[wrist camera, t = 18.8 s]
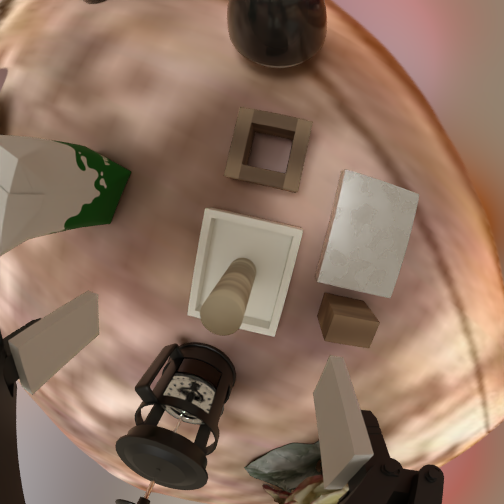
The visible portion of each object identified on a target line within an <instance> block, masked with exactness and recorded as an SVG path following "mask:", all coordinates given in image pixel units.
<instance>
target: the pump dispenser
mask: <svg viewBox="0 0 504 504" xmlns="http://www.w3.org/2000/svg"><path fill="white" fill-rule="evenodd" d="M227 23H228V32H229V36H230V39H231V42H232V44H233V45H234V47H235V48H236V49H237V51H238V52H239V53H241V54H242V55H243V56H245V57H246V58H248V59H250V60H252V61H253V62H255V63H257V64H260V65H263V66H266V67H272V68H286V67H292V66H295V65H298V64H300V63H302V62H304V61H306V60H308V59H310V58H311V57H313V56H314V55H315V54H317V53H318V51H319V50H320V49H321V48H322V46H323V44H324V41H325V37H326V32H327V14H326V7H325V3H324V0H228V8H227Z"/></svg>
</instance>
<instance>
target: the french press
mask: <svg viewBox="0 0 504 504" xmlns="http://www.w3.org/2000/svg"><path fill="white" fill-rule="evenodd" d="M169 356H170V357H169ZM168 358H169V360H168V363H167V364H166V366H165V367H164V370H163V372H162V377H161V378H160V380H159V381H158V382H157V385H156V386H155V388H154V389H153V391H152V390H151V388H150V385H151V383H152V382H153V380H154V379H155V377H156V376H157V374H158V373H159V371H160V370H161V368H162V367H163V365H164V364H165V362H166V361H167V359H168ZM184 358H186V359H196V360H200V361H203V362H205V363H207V364H209V365H211V366H213V367H214V368H216V369H217V370H218V371H219V372H220V373H221V376H220V379H219V382H218V385H217V388H216V387H215V386H214V385H213V384H212V383H210V382H209V381H207V380H206V379H204V378H202V377H200V376H197V375H194V374H191V373H187V372H178V371H177V370H178V368H179V366H180V364H181V363H182V361H183V359H184ZM235 380H236V373H235V368H234V366H233V364H232V362H231V361H230V359H229V358H228V357H227V356H226V355H225V354H224V353H223V352H221V351H220V350H218V349H217V348H215V347H213V346H210V345H207V344H203V343H187V344H183V345H181V346H178V345H177V344H172V345H168V346H165V347H164V348H163V349H162V351H161V352H160V353H159V355H158V356H157V357H156V359H155V360H154V362H153V363H152V364H151V366H150V367H149V368H148V370H147V371H146V372H145V374H144V375H143V377H142V378H141V379H140V381H139V382H138V383H137V385H136V386H135V391H136V392H137V394H138V395H139V396H140V398H141V399H142V400H143V402H142V403H141V404H140V406H139V408H138V409H137V411H136V413H135V423H136V426H135V427H133V428H131V429H130V430H129V432H128V434H127V435H124V436H122V437H120V438H119V439H118V440H117V442H116V451H117V453H118V455H119V457H120V458H121V460H122V461H123V462H124V463H125V464H126V465H127V466H128V467H129V468H130V469H132V470H133V471H134V472H136V473H137V474H139V475H140V476H142V477H144V478H146V479H147V480H150V481H151V482H150V485H149V487H148V489H147V491H146V494H145V496H144V498H143V497H140V499H139V501H138V502H137V504H150V501H149V500H148V498H149V495H150V493H151V491H152V488H153V486H154V484H155V483H156V484H159V485H162V486H165V487H169V488H173V489H179V490H194V489H199V488H201V487H203V486H204V485H205V484H206V483H207V480H208V474H207V472H206V470H205V469H206V465H207V458H206V456H207V455H209V454H210V453H212V452H213V451H214V450H215V449H216V446H217V443H218V439H219V428H218V422H219V419H220V417H221V415H222V414H223V410H224V404H225V403H226V402H227V400H228V399H229V396H230V393H231V389H232V387H233V386H234V383H235ZM148 405H154V406H153V407H152V409H151V411H150V413H149V414H148V416H147V418H146V420H145V421H143V419H142V416H141V408H143V407H144V406H148ZM164 411H167V412H168V413H169V414H170V415H172V416H173V417H175V418H177V419H179V420H178V422H177V424H176V426H175V429H174V431H170V430H168V429H165V428H161V427H158V426H157V424H158V422H159V421H160V419H161V417H162V415H163V413H164ZM181 421H184V422H187V423H191V424H199V425H200V427H199V430H198V433H197V436H196V439H195V442H194V443H193V442H191V441H190V440H189V439H187V438H185V437H183V436H182V435H180V434H177V431H178V428H179V426H180V424H181ZM210 432H212V433H213V435H214V438H215V442H214V443H213V444H211V445H210V446H208V447H206V445H207V441H208V438H209V435H210ZM116 504H135V503H132V502H129V501H126V500H121V499H118V500H116Z"/></svg>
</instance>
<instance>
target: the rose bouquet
mask: <svg viewBox="0 0 504 504" xmlns="http://www.w3.org/2000/svg"><path fill="white" fill-rule="evenodd" d="M319 460H321V452H320V443H319V441H318V442H316V443H315V444H313V445H312V444H299V443H291V444H289V445H286V446H283V447H281V448H278V449H275V450H273V451H271V452H270V453H267V455H264V456H262V458H261V459H258V460H256V461H254V462H251V463H250V465H248V467H244V468H245V469H246V470H247V472H248V473H249V475H250V476H252V477H254V478H256V479H260V480H263V481H265V482H268V483H271V484H273V485H276V486H278V487H279V488H281V489H283V491H282V490H275V489H273V487H272V486H270V485H268V484H263V485H262V486H263V488H264V490H265V491H266V492H267V493H269V494H270V495H271V496H272V497H273V498H274V501H275V502H278V503H279V504H337V502H338V501H339V500H338V499H340V498H341V497H342V496H343V495H344V494H345V493H346V492H347V491H348V490H349V487H348V483H347V484H346V485H345V486H344V487H343V488H342V489H324V481H323V471H322V470H321V472H318V471H317V470H316V468H315V467H316V465H317V462H318V461H319ZM320 464H321V466H322V462H321V463H320ZM292 489H293V490H294V491H293V493H291V490H292Z"/></svg>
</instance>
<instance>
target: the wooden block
mask: <svg viewBox="0 0 504 504" xmlns="http://www.w3.org/2000/svg"><path fill="white" fill-rule="evenodd" d="M317 317H318V320H319V324H320V327H321V330H322V334H323V337H324V341H328V342H333V343H339V344H345V345H351V346H358V347H364V348H369V347H370V345H371V343H372V340H373V338H374V336H375V333H376V331H377V328H378V326H379V323H380V322H379V321H378V319H377V318H376V317H375V315H374V314H373V313H372V311H371V310H370V309H369V307H368V306H367V305H366V303H365V302H364V301H361V300H357V299H352V298H347V297H343V296H338V295H333V294H329V293H324V297H323V300H322V303H321V306H320V309H319V312H318V315H317Z"/></svg>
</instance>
